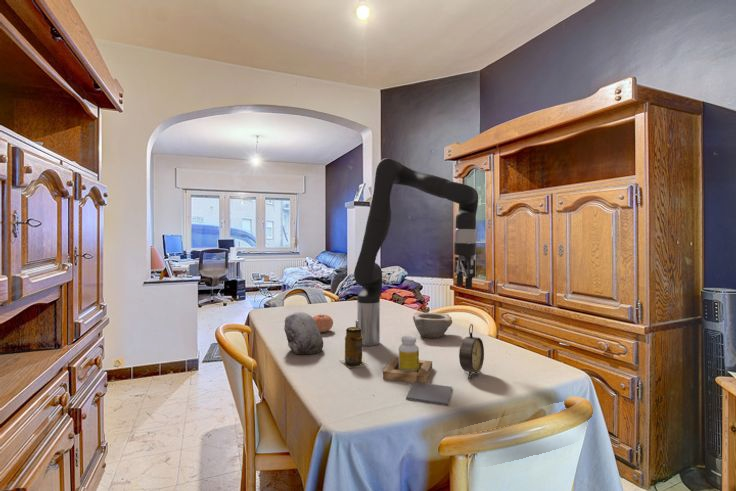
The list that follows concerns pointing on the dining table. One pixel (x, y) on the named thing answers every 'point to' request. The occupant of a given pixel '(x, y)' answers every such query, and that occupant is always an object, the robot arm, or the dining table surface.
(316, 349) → the stone
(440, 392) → the slate coaster
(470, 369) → the alarm clock
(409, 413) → the dining table surface
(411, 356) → the pill bottle
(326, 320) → the tomato
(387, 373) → the wooden square frame
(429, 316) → the mortar
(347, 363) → the condiment
